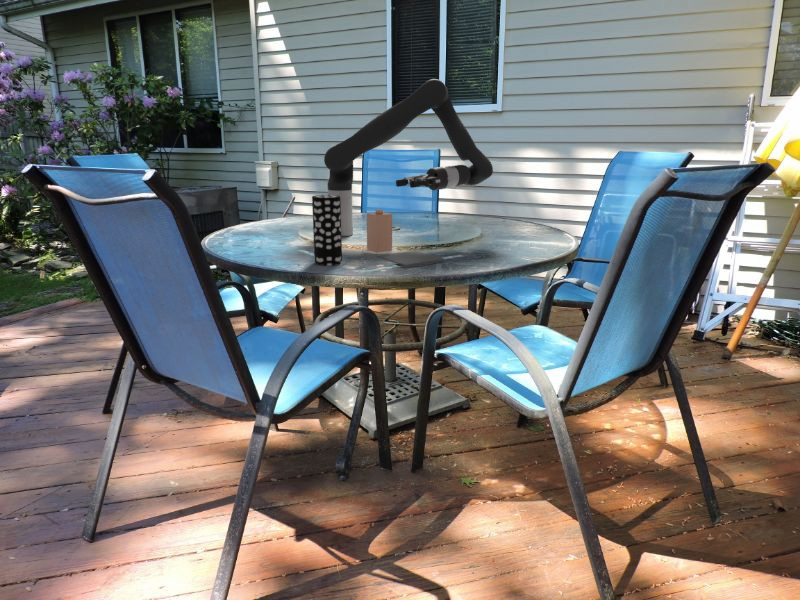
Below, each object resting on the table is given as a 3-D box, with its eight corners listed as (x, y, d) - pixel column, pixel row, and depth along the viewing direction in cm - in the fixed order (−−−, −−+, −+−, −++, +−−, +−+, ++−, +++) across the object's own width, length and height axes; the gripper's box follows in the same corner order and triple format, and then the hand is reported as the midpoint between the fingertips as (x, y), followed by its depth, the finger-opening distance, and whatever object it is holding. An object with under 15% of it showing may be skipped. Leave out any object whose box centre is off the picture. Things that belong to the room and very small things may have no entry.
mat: (376, 259, 176) (376, 256, 175) (414, 253, 184) (414, 250, 184) (405, 268, 164) (405, 264, 164) (444, 261, 173) (444, 258, 172)
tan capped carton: (367, 249, 186) (366, 209, 182) (381, 247, 190) (381, 208, 186) (377, 252, 181) (376, 211, 178) (392, 250, 185) (392, 210, 181)
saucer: (357, 255, 181) (357, 243, 180) (366, 248, 192) (366, 236, 191) (393, 256, 179) (393, 244, 178) (400, 249, 190) (400, 237, 189)
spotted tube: (315, 266, 166) (312, 198, 160) (314, 260, 174) (311, 195, 168) (343, 265, 168) (341, 197, 162) (340, 259, 176) (339, 194, 170)
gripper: (429, 166, 198) (390, 172, 190) (454, 166, 186) (414, 172, 178) (431, 187, 200) (392, 194, 192) (456, 189, 188) (416, 196, 180)
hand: (403, 184), depth 185 cm, fingers open, 8 cm apart
